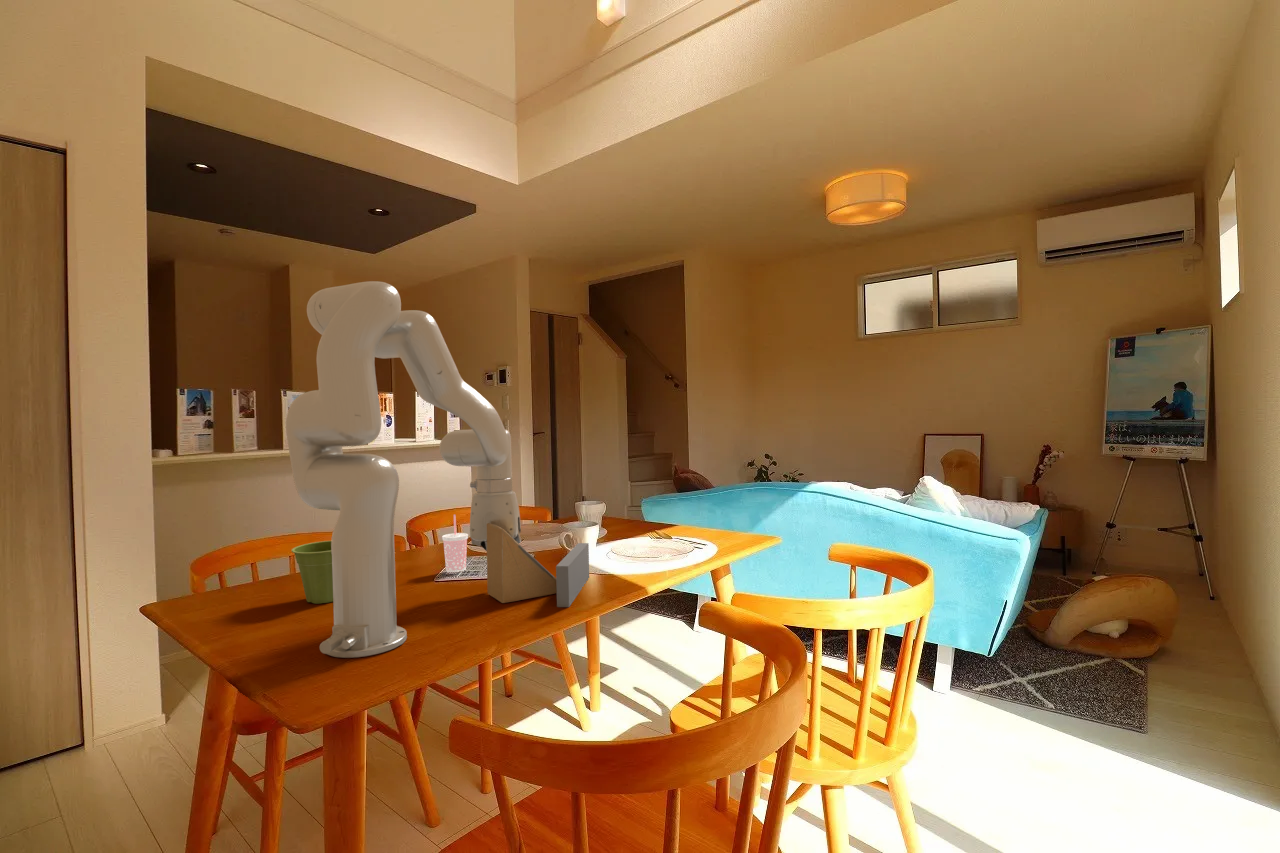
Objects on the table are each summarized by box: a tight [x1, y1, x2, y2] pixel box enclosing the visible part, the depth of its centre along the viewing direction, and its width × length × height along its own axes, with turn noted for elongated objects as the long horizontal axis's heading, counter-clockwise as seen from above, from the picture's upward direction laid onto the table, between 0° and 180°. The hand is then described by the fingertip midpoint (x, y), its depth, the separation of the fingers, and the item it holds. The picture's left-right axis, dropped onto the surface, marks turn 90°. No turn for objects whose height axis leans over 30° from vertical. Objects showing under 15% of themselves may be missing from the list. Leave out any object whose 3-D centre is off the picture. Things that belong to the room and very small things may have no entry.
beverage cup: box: [441, 514, 469, 572], centre depth 152 cm, size 6×6×14 cm
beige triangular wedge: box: [486, 523, 557, 604], centre depth 132 cm, size 9×15×15 cm, turn 125°
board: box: [555, 542, 590, 608], centre depth 133 cm, size 22×2×8 cm, turn 174°
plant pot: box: [291, 540, 333, 605], centre depth 131 cm, size 12×12×11 cm
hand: (497, 571), depth 135 cm, fingers closed
